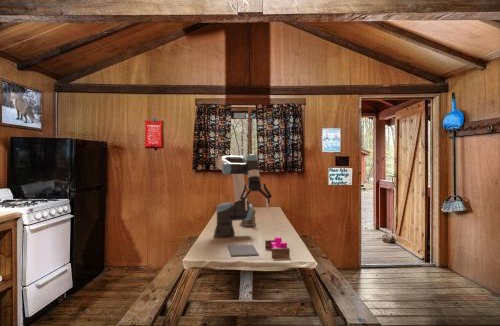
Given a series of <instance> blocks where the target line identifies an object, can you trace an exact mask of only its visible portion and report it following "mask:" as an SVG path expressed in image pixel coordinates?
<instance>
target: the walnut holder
mask: <svg viewBox="0 0 500 326" xmlns="http://www.w3.org/2000/svg"><path fill="white" fill-rule="evenodd" d="M271 242H275V239H265V241H264V245H265V246H264V248H265V249H267V250H271ZM290 250H291V249H290V248H289V247H287V248H272V250H271V258H272V259H276V258H277V259H279V258H281V259H282V258H290V257H291V255H290Z"/></svg>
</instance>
